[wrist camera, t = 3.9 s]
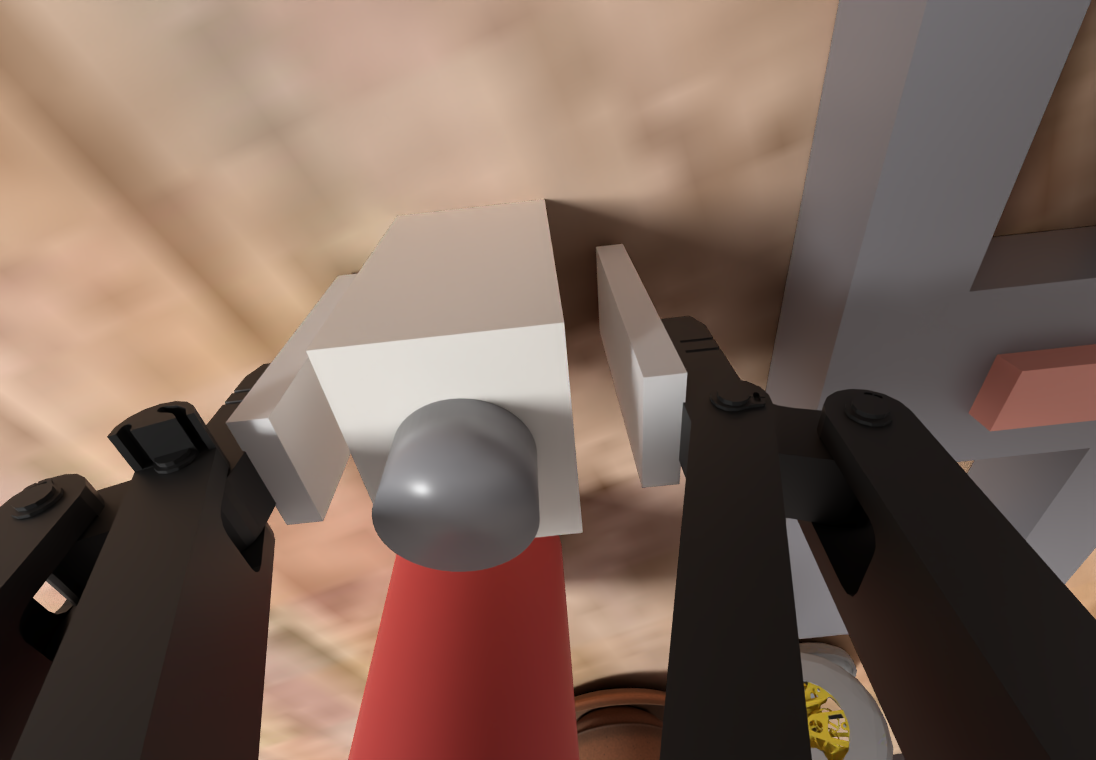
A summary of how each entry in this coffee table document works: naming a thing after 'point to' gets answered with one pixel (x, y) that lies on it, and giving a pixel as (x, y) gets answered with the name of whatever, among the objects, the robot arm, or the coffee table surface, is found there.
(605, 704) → the cup and saucer
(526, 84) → the coffee table surface
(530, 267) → the plug
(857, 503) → the robot arm
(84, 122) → the coffee table surface
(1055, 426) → the power strip
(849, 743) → the pocket watch
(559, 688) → the beer can
